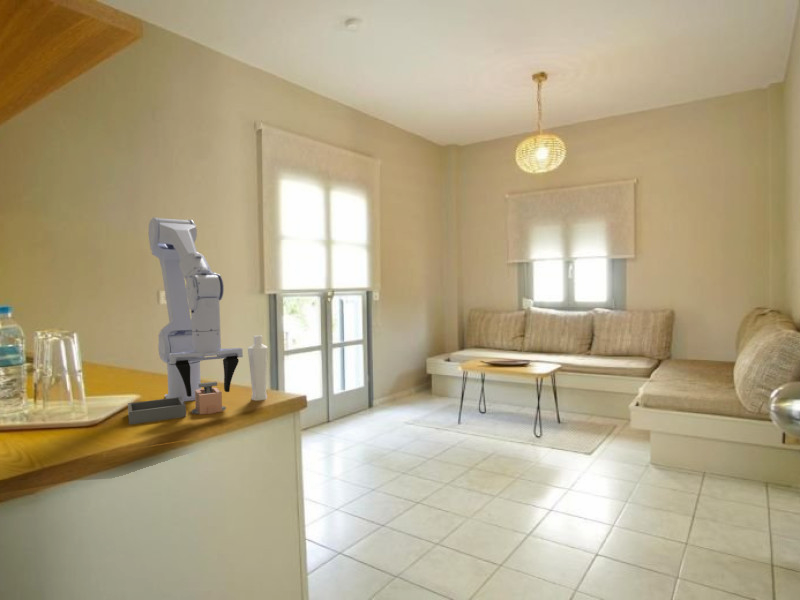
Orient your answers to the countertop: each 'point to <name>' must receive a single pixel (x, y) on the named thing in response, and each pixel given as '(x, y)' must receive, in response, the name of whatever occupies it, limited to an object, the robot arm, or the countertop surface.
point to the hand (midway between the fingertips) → (208, 393)
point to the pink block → (208, 401)
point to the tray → (156, 410)
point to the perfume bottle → (258, 368)
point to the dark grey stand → (207, 390)
